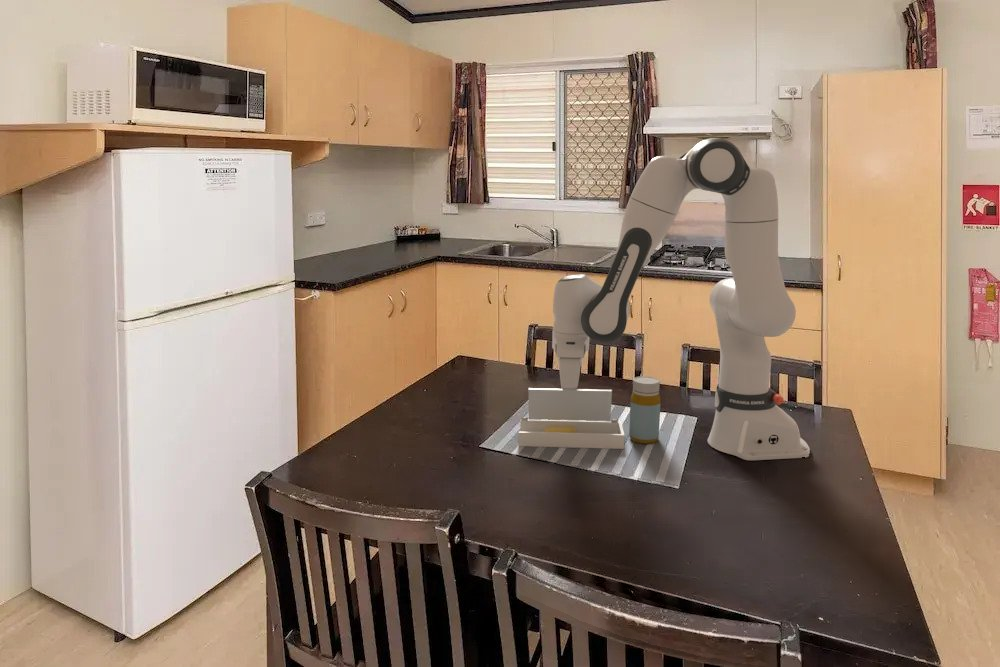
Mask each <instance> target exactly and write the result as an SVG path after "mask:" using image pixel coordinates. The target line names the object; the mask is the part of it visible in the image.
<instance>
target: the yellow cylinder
mask: <svg viewBox="0 0 1000 667" xmlns="http://www.w3.org/2000/svg"><path fill="white" fill-rule="evenodd" d="M545 432H560V433H576V431H575V427H574V426H572V427H554V428H545Z"/></svg>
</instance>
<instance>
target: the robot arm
mask: <svg viewBox="0 0 1000 667" xmlns="http://www.w3.org/2000/svg"><path fill="white" fill-rule="evenodd" d="M776 185H777V184H776V181H775V177H774V175H773V174H772V173H771V172H770V171H768V170H766V169H764V168H762V167H750V166H749V165H748V163H747V162H746V160H745V158H744V156H743V153H742V152H741V151H740V149H739V148H738V147H737V146H736V145H735V144H734V143H733V142H731V141H730V140H727V139H725V138H720V137H710V138H706V139H703V140H701V141H699V142H698V143H697V144H695V145H693V146H692V147H691V148H690V149H689V150H687V152H685V153H684V154H682V155H681V156H680V157H679V158H677V157H675V156H670V155H658V156H655V157H653V158H652V159H651V160H650V161H649V162H648V164H647V165H646V166H645V168H644V170H643V171H642V173H641V174H640V176H639V178H638V180H637V181H636V184H635V186H634V188H633V190H632V193H631V195H630V196H629V199H628V202H627V205H626V207H625V211H624V213H623V214H624V215H623V218H622V223H621V228H620V234H619V240H618V245H617V249H616V253H615V256H614V259H613V262H612V264H611V266H610V269H609V271H608V273H607V275H606V278H605V280H604V283H603V284H600V283H599V282H596V281H595V280H593V279H592V278H591V277H590V276H589V275H587V274H584V273H583V274H580V273H578V274H572V275H566V276H563V277H562V278H560V279H558V281H557V282H556V284H555V286H554V291H553V299H552V300H553V302H552V313H553V318H554V322H553V326H552V343H551V344H552V345H551V346H552V347H551V348H552V350H553V351H554V352H555V356H556V358H558V359H557V360H558V367H559V368H558V369H559V380H560V386H561V388H560V389H563V390H577V389H578V385H579V380H580V374H581V373H580V372H581V365H582V360H583V359H584V357H585V354H586V353H587V352H588V351H589V350H590V339H591V340H593V341H595V342H598V343H603V344H604V343H610V342H611V343H612V342H614V341H617V340H618V339H619V338H620V337H622V335H623V334H624V332H625V331H626V327H627V322H628V320H629V317H630V314H631V304H630V300H629V298H630V297H631V294H632V292H633V289H634V287H635V285H636V282H637V280H638V277H639V276H640V272H642V269H643V268H644V266H645V264H646V262H647V260H648V259H649V257H650V256H651V255H652V254H653V252H655V250H656V249H657V248H658V247H659V245H660V244H661V243H662V241H663V240H664V239H665V238H666V236H667V234H668V232H669V231H670V229H671V227H672V225H674V224H673V223H674V222H675V219H676V218H677V215H678V213H679V211H680V207H681V205H682V203H683V202H684V200H685V198H686V197H687V195H688V194H689V193H691V191H693V190H696V189H698V190H699V189H700V190H701V191H702V190H703V191H707V192H708V191H709V192H713V193H717V194H720V195H721V196H722V198H723V202H724V207H725V208H724V210H725V211H724V212H725V213H724V256H725V260H726V261H727V263H728V266H729V267H730V268H729V269H730V271H731V274H732V277H729V278H724V279H721V280H719V281H718V282H717V283H715V285H714V286H713V287H712V290H711V291H710V294H709V304H710V307H711V309H712V312H713V314H714V318H715V322H716V330H717V335H718V337H717V338H718V342H719V352H720V353H719V354H720V355H719V356H720V359H719V372H718V373H719V376H718V383H717V384H716V390H715V396H714V397H715V398H714V407H715V411H714V412H715V413H714V419H713V423H712V426H711V429H710V433H709V436H708V437H707V441H706V442H707V443H708V445H709V446H710V447H711V448H714V449H715V450H717V451H719V452H722V453H726V454H728V455H733V456H736V457H738V458H740V459H742V460H745V461H764V460H765V461H766V460H782V459H783V460H784V459H785V460H786V459H787V460H788V459H803V458H802V457H805V458H808V457H809V456H810V455H809V454H811V451H810V450H811V449H810V445H808V443H807V442H806V440H805V439H803V438H802V437H801V433H800V429H799V426H798V423H797V422H796V421H795V419H793V418H792V417H791V415H789V414H788V413H787V412H785V410H783V409H782V408H780V407H779V406H780V405H782V404H783V403H784V401H785V399H784V397H783V396H782V395H781V394H779V393H777V392H776V391H775V390H774V389H772V388H770V379H771V367H772V356H771V352H770V351H769V349H768V346H767V343H766V338H776V337H780V336H782V335H783V334H785V333H788V331H789V330H790V329H791V327H792V326H793V324H794V322H795V319H796V315H797V314H796V312H797V310H796V306H795V304H794V302H793V300H792V299H791V297H790V296H789V294H788V291H787V288H786V285H785V280H784V277H783V274H782V269H781V265H780V264H781V263H780V258H779V199H778V192H777V191H778V190H777V186H776ZM765 337H766V338H765Z"/></svg>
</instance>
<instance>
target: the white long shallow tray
mask: <svg viewBox="0 0 1000 667" xmlns="http://www.w3.org/2000/svg"><path fill="white" fill-rule="evenodd" d="M519 424H520V431H518V447H540V448H543V447H544V448H546V447H547V448H577V449H580V448H581V449H583V448H585V449H618V450H620V449H621V450H625V432H624V427H623V423H622V421H619V419H616V418H615V419H611V418H610V421H590V420H548V419H529V416H528V417H527V416H523V417H521V419H520V423H519ZM572 426H574V427H575V431H576V433H560V432H545V428H554V427H572Z"/></svg>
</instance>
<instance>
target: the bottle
mask: <svg viewBox="0 0 1000 667" xmlns="http://www.w3.org/2000/svg"><path fill="white" fill-rule="evenodd" d="M660 387H661V386H660V379H659V378H657V377H653V376H648V375H640V376H636V377H634V378H633V380H632V394H631V396H630V404H629V405H630V408H629V409H630V410H629V429H628V430H629V431H628V432H629V434H628V436H629V439H630V440H631V441H632V442H634V443H636V444H641V445H651V444H653V443H656V442H657V441H658V440H659V437H660V420H661V419H660V418H661V397H660ZM650 443H651V444H650Z"/></svg>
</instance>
